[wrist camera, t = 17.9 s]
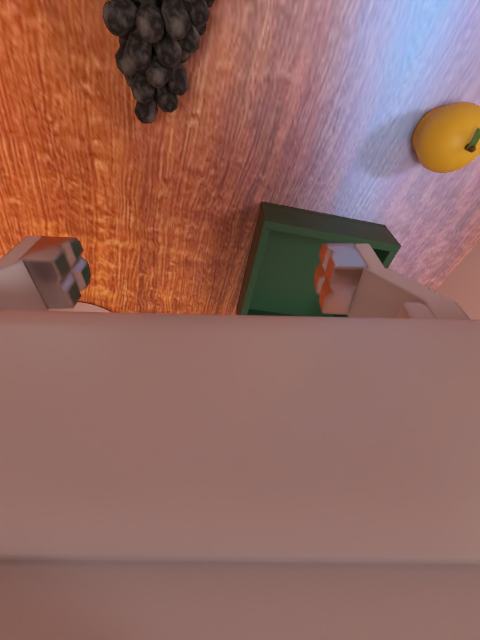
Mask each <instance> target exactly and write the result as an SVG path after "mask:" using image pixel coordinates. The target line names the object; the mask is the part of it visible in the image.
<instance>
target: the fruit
mask: <svg viewBox="0 0 480 640" xmlns="http://www.w3.org/2000/svg"><path fill="white" fill-rule="evenodd" d="M213 1H214V0H163V3H161V0H111V1H108V2H106V3H105V5H104V7H103V19H104V22H105V24H106V27H107V29H108V30H109V31H110V32H111V33H112V34H113V35H116V36H119V43H120V48H119V50H118V52H117V53H116V55H115V58H116V62H117V66H118V68H119V70H120V71H121V72H122V73H123V74H124V75H125V78H126V81H127V83H128V85H129V86H130V87H131V90H132V94H133V96H134V98H135V99H136V100H137V103H136V107H135V113H136V116H137V118H138V119H139V120H140V121H141V122H142V123H152V122H153V121H154V120H155V117H156V114H157V111H158V107H157V103H158V105H159V107H160V108H161V109H162V110H163V111H164V112H173V111H174V110H175V109H176V108H177V105H178V97H177V95H183V94H184V93H185V92H186V91H187V89H188V80H187V75H186V70H185V68H184V67H183V65H182V64H181V63H184V62H186V61H187V60H188V59H189V57H190V55H191V53H193V52H195V51H196V50H197V49H198V48H199V41H200V36H201V35H202V34H204V32H205V30H206V23H207V21H208V17H209V9H208V8H209V7H211V6H212V4H213Z"/></svg>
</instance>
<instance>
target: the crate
mask: <svg viewBox="0 0 480 640" xmlns="http://www.w3.org/2000/svg"><path fill="white" fill-rule="evenodd" d="M325 243H354V244H365V243H367V244H369V245H370V246H371V247H372V249H373V251H374V252H375V254H376V255H377V257H378V258H379V260H380V261H381V263H382V264H383V266H384V268H388V267H389V265H390V263H391V262H392V260H393V258H394V257H395V255H396V253H397V252H398V250H399V249H400V247H401V245H400V244H399V243H398V241H397V240H396V239H395V238H394V236H393V235H392V234H391V233H390V231H389V230H388V229H387V227H386V226H385V225H381V224H376V223H371V222H365V221H360V220H355V219H350V218H345V217H339V216H334V215H329V214H324V213H319V212H313V211H308V210H303V209H298V208H293V207H287V206H282V205H277V204H272V203H267V202H262V204H261V208H260V212H259V216H258V220H257V225H256V229H255V233H254V237H253V241H252V246H251V250H250V254H249V258H248V262H247V267H246V271H245V275H244V279H243V283H242V288H241V292H240V296H239V300H238V304H237V315H264V316H315V317H348V316H347V315H344V314H322V311H321V308H320V304H319V297H320V295H318V294H317V293H316V291H315V286H314V277H315V271H316V267H317V266H318V265H319V264H320V263H321V261H320V258H319V252H320V248H321V246H322V244H325Z"/></svg>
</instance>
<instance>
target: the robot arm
mask: <svg viewBox="0 0 480 640" xmlns="http://www.w3.org/2000/svg"><path fill="white" fill-rule="evenodd" d="M82 252H83V248H82V246H81V243H80V241H79V240H78V239H77V238H72V237H48V236H46V237H45V236H26V237H25V238H24V239H23V240H22V241H21V242H20V243H18V244H17V245H16V246H15V247H14V248H13V249H12V250H10V251H9V252H8V253H7V254H6V255H5V256H4V257H3V258H1V259H0V640H480V320H471V319H470V318H469V317H468V316H467V314H466V313H465V312H464V311H463V310H462V308H461V307H460V306H459V305H458V303H456V302H455V301H453V300H451V299H449V298H447V297H445V296H443V295H441V294H439V293H437V292H435V291H433V290H431V289H429V288H427V287H425V286H423V285H421V284H419V283H417V282H415V281H413V280H411V279H409V278H407V277H405V276H403V275H401V274H400V273H398V272H396V271H394V270H392V269H388V268H384V266H383V264H382V263H381V261H380V260H379V258H378V257H377V255H376V254H375V252H374V251H373V249H372V247H371V246H370V245H369V244H367V243H365V244H354V243H325V244H322V246H321V248H320V252H319V258H320V261H321V263H320V264H319V265H318V266H317V267H316V271H315V277H314V286H315V291H316V293H317V294H318V295H320V297H319V304H320V308H321V311H322V314H344V315H347V316H348V317H315V316H264V315H214V314H164V313H115V312H110V311H108V310H106V309H104V308H101V307H99V306H96V305H92V304H88V303H81V302H78V300H79V299H80V297H81V294H80V291H82V290H84V289H85V288H87V286H88V284H89V283H90V276H91V274H90V268H89V265H88V262H87V261H86V260H85V259H84V258H83V257H82V256H81V254H82ZM48 309H49V310H48ZM46 310H47V311H46Z"/></svg>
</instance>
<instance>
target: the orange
mask: <svg viewBox="0 0 480 640" xmlns="http://www.w3.org/2000/svg"><path fill="white" fill-rule="evenodd" d="M413 148H414V150H415V152H416V153H417V157H418V159H419V161H420V163H421V164H422V165H423V166H424V167H425V168H427V169H428V170H430V171H433V172H438V173H447V172H452V171H455V170H458V169H461V168H463V167H464V166H466V165H468V164H469V163H470V162H472V161H473V160H474V159H475V158H476V157H477V156H478V155H479V154H480V107H479V106H478V105H475V104H473V103H469V102H459V103H454V104H450V105H448V106H446V105H445V106H440V107H437V108H435V109H433V110H431V111H430V112H429V113H427V114H426V115H425V116H424V117H423V118H422V119H421V121H420V122H419V123H418V125H417V127H416V129H415V131H414V134H413Z"/></svg>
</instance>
